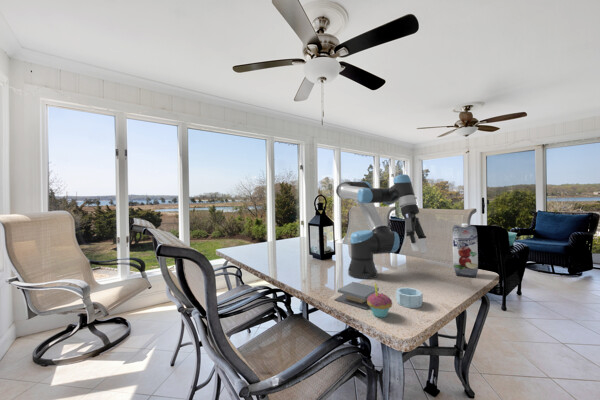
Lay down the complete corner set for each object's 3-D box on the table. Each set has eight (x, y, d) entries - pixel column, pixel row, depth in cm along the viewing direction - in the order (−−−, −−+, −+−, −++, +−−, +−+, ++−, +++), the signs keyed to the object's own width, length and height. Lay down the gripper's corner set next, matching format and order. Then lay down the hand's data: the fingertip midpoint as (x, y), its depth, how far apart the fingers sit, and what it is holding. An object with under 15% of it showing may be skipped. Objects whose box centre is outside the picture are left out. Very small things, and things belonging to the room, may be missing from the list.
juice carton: (452, 271, 137) (451, 222, 137) (476, 273, 132) (475, 222, 132) (454, 276, 129) (453, 223, 129) (478, 278, 125) (477, 224, 124)
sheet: (337, 292, 102) (337, 289, 102) (353, 284, 111) (353, 281, 111) (364, 299, 94) (364, 296, 94) (378, 290, 103) (378, 287, 103)
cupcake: (382, 322, 83) (381, 286, 83) (362, 313, 90) (361, 280, 90) (397, 315, 88) (396, 281, 88) (377, 307, 95) (376, 275, 95)
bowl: (393, 303, 98) (392, 292, 97) (401, 296, 104) (401, 286, 104) (417, 310, 91) (417, 298, 91) (425, 302, 98) (424, 291, 98)
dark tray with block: (334, 300, 102) (334, 292, 102) (352, 290, 113) (352, 283, 112) (366, 309, 93) (365, 301, 93) (382, 298, 103) (382, 290, 103)
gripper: (408, 198, 106) (421, 248, 98) (424, 208, 124) (436, 251, 117) (391, 203, 110) (402, 251, 103) (409, 212, 129) (420, 254, 121)
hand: (420, 252), depth 110 cm, fingers open, 13 cm apart
